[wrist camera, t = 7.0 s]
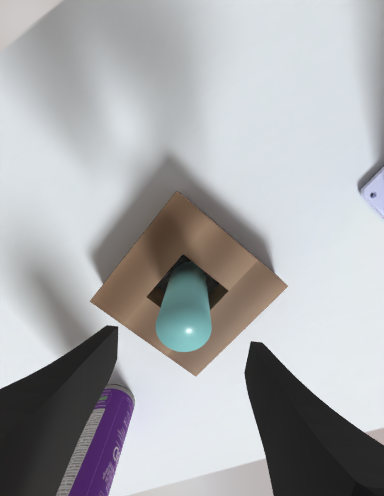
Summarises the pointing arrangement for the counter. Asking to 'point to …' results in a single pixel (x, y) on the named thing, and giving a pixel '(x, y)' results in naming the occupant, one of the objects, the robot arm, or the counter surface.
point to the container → (99, 445)
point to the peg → (185, 310)
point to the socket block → (203, 255)
